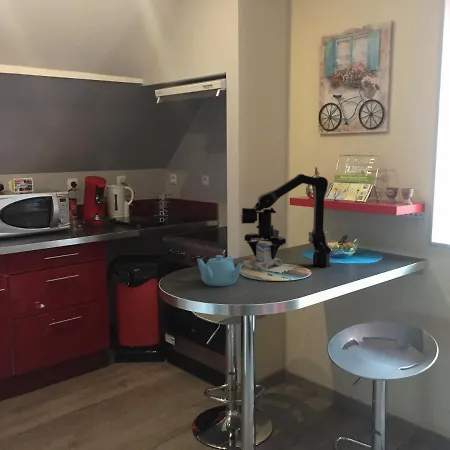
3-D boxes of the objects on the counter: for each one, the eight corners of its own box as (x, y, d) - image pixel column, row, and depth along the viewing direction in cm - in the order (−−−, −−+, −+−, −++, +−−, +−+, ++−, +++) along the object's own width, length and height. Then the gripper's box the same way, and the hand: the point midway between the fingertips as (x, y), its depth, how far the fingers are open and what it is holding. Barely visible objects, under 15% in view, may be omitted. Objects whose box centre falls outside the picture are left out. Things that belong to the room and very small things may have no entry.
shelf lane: (282, 266, 229) (282, 258, 229) (266, 271, 220) (266, 263, 219) (257, 261, 238) (257, 254, 237) (240, 266, 228) (240, 258, 228)
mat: (295, 268, 224) (295, 267, 224) (280, 273, 215) (280, 272, 215) (282, 266, 229) (282, 265, 229) (266, 271, 220) (266, 270, 220)
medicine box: (255, 262, 230) (255, 243, 229) (264, 261, 232) (264, 242, 231) (264, 266, 223) (264, 246, 222) (273, 265, 225) (273, 245, 224)
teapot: (243, 286, 195) (244, 258, 193) (205, 289, 191) (205, 260, 190) (232, 277, 210) (233, 251, 208) (196, 279, 206) (196, 252, 204)
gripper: (292, 223, 225) (292, 258, 227) (258, 219, 237) (258, 252, 239) (278, 225, 217) (278, 262, 219) (243, 222, 229) (243, 256, 231)
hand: (264, 258), depth 227 cm, fingers closed on medicine box, 9 cm apart
